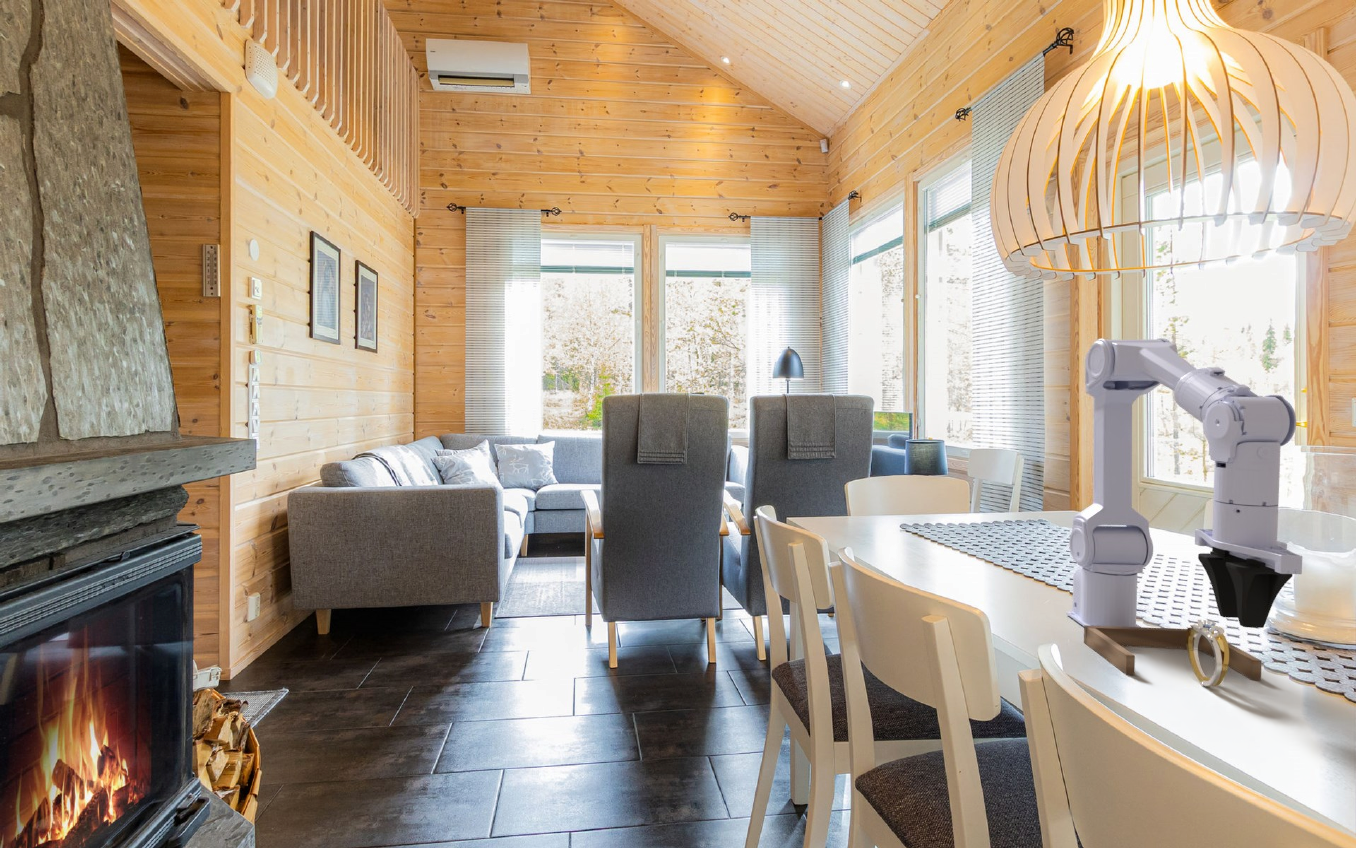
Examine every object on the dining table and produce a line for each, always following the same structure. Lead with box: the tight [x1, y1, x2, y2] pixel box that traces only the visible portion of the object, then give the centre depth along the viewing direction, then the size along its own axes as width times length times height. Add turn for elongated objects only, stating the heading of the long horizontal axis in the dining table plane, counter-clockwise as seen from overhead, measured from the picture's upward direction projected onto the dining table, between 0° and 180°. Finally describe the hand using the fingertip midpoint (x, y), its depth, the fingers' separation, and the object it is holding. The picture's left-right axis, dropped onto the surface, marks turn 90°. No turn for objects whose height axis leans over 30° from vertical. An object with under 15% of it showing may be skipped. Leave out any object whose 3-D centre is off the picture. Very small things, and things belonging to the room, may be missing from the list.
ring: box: [1186, 619, 1229, 688], centre depth 86 cm, size 7×3×8 cm, turn 165°
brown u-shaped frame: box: [1083, 625, 1262, 681], centre depth 94 cm, size 12×16×2 cm
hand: (1241, 621), depth 80 cm, fingers open, 3 cm apart
